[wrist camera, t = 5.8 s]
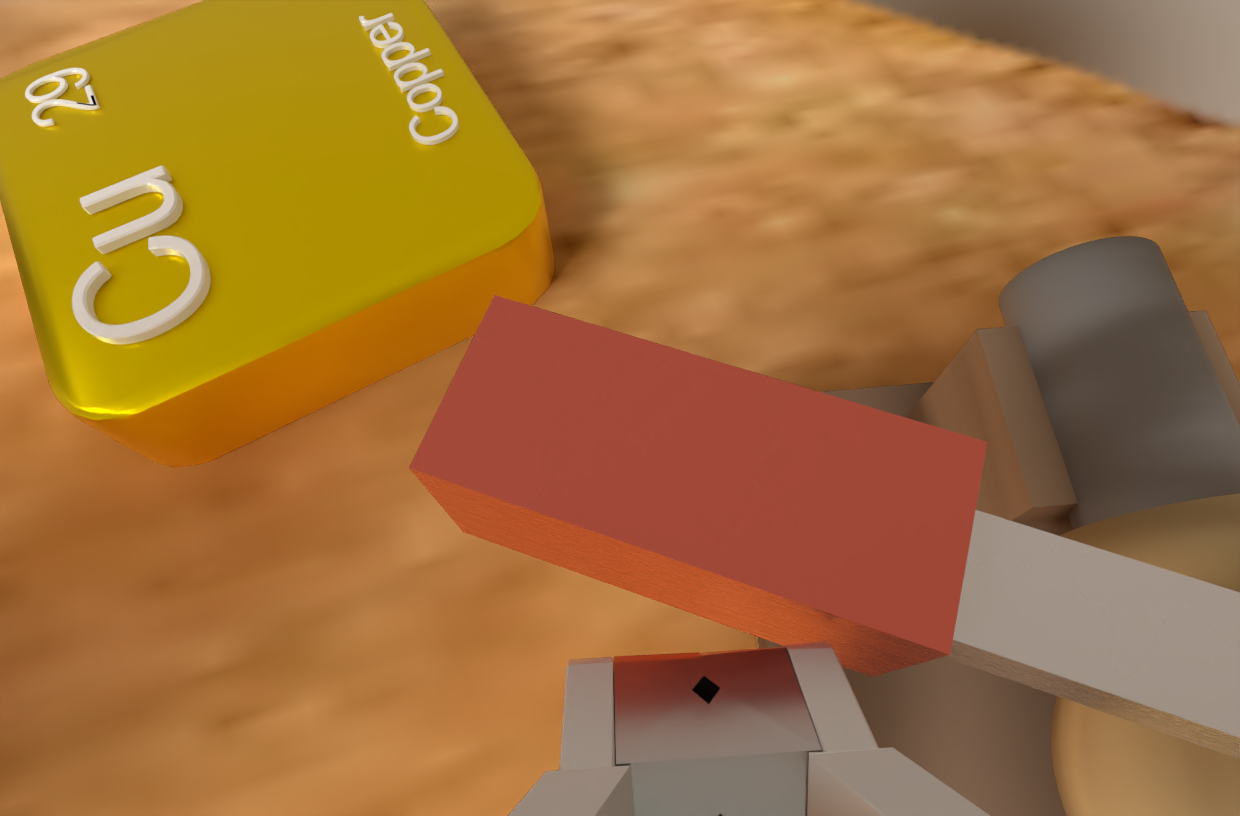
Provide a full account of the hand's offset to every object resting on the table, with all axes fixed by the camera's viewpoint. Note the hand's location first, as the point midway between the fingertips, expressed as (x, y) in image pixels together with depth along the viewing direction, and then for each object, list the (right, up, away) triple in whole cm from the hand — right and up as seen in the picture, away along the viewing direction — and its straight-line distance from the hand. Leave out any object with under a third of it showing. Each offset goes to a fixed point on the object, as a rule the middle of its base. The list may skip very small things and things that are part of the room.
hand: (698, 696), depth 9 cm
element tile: (-13, +10, +19) cm, 25 cm away
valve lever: (+4, 0, +2) cm, 5 cm away
